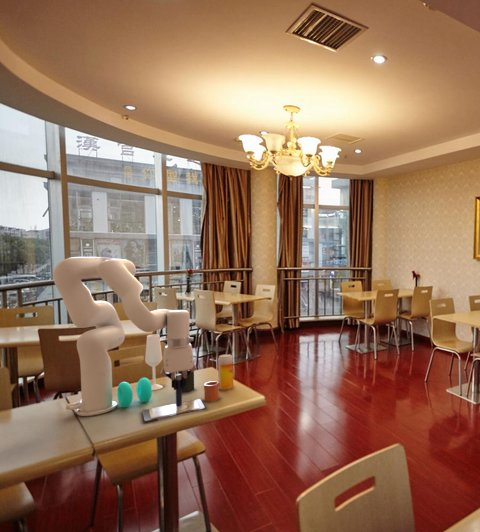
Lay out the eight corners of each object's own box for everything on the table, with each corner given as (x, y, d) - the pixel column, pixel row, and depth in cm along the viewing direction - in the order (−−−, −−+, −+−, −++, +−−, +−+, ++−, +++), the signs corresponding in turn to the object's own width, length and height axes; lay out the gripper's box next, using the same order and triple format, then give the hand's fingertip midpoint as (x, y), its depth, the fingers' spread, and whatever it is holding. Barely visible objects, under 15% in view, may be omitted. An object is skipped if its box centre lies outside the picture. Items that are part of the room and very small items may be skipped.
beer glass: (235, 388, 176) (235, 355, 176) (221, 391, 172) (221, 358, 171) (229, 385, 180) (229, 353, 180) (216, 388, 176) (215, 355, 175)
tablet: (144, 423, 140) (144, 420, 140) (142, 412, 150) (142, 409, 150) (205, 410, 152) (205, 407, 152) (200, 400, 161) (200, 398, 161)
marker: (176, 407, 152) (176, 375, 151) (175, 405, 153) (175, 374, 153) (182, 405, 153) (182, 374, 152) (181, 404, 155) (181, 373, 154)
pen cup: (205, 403, 158) (205, 386, 158) (203, 399, 163) (203, 382, 163) (220, 400, 162) (219, 383, 161) (217, 396, 166) (217, 380, 166)
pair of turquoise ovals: (116, 404, 157) (116, 380, 156) (145, 397, 164) (144, 374, 164) (123, 411, 150) (123, 385, 150) (153, 403, 158) (152, 379, 157)
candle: (188, 393, 169) (187, 336, 168) (177, 393, 169) (176, 336, 168) (195, 389, 174) (194, 334, 173) (184, 389, 174) (183, 334, 173)
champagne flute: (146, 386, 178) (145, 334, 177) (163, 384, 181) (162, 333, 180) (144, 391, 172) (143, 337, 171) (162, 388, 175) (161, 336, 174)
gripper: (199, 337, 160) (199, 382, 161) (153, 342, 150) (154, 389, 151) (202, 341, 154) (203, 387, 155) (155, 346, 144) (155, 395, 145)
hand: (178, 388), depth 153 cm, fingers closed on marker, 2 cm apart
